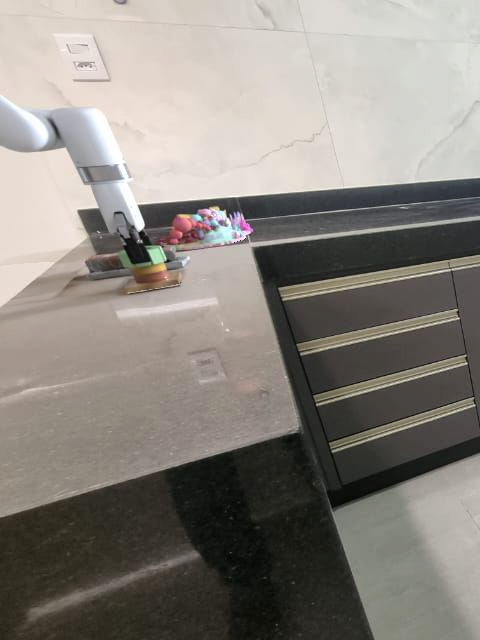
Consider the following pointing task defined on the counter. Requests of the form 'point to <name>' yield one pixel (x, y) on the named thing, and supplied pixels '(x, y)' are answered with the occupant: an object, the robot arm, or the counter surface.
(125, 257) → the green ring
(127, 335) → the counter surface
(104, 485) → the counter surface
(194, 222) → the candy landscape model
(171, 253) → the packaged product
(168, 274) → the stacking stand
